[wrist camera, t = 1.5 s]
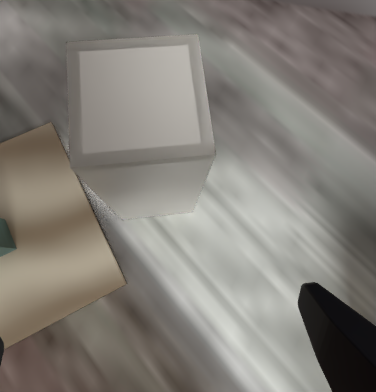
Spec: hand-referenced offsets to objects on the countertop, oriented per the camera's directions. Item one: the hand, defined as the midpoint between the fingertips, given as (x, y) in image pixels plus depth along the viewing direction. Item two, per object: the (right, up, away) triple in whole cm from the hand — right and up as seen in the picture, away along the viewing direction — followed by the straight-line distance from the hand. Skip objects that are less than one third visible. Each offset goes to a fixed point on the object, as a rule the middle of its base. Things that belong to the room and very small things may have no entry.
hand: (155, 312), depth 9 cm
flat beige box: (-13, 0, +13) cm, 18 cm away
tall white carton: (-2, +4, +15) cm, 15 cm away
